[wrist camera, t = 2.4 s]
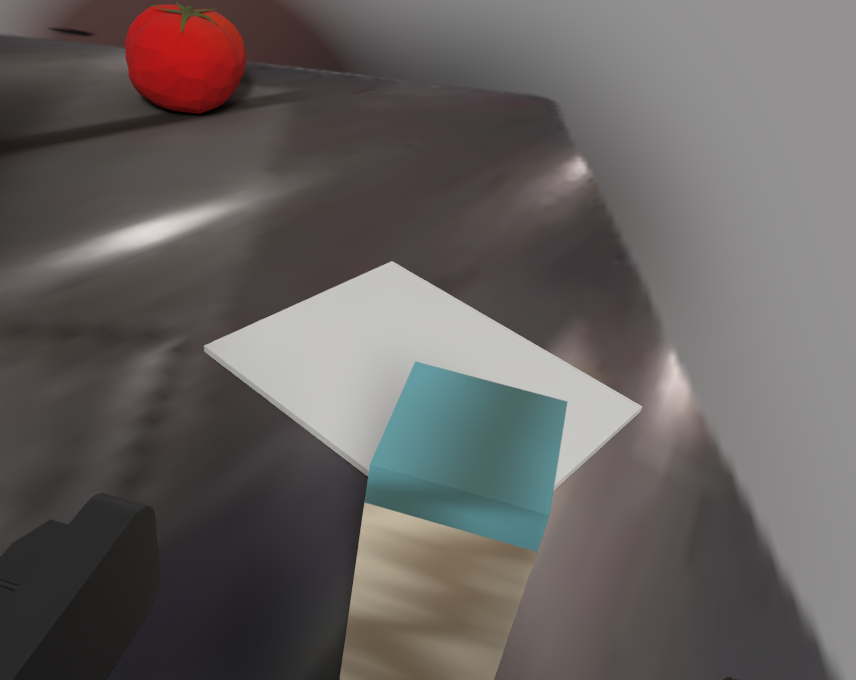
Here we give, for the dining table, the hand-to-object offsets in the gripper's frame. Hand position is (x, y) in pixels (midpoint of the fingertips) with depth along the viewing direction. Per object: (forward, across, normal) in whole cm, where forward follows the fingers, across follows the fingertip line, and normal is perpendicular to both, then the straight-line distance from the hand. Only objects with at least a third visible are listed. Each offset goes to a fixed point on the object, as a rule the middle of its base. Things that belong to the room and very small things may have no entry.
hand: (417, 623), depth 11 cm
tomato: (+57, +33, +17) cm, 68 cm away
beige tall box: (+11, 0, +18) cm, 21 cm away
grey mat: (+28, +4, +18) cm, 33 cm away
